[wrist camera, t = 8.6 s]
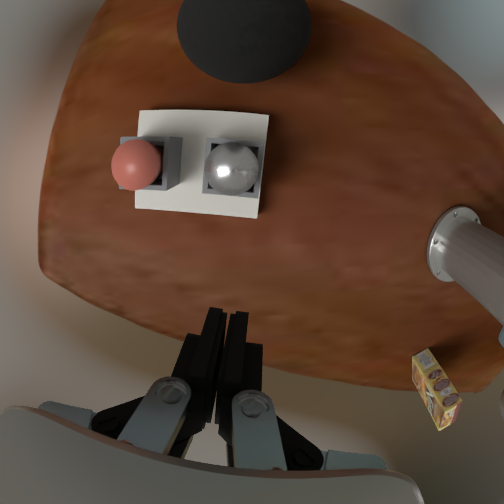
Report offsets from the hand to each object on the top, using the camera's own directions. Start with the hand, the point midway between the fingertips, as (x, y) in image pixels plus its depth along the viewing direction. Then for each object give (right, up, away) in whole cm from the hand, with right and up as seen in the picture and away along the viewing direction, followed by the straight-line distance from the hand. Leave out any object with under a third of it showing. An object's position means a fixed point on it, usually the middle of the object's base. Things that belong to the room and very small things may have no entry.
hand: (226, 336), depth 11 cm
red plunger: (-10, +14, +16) cm, 23 cm away
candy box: (+36, -19, +33) cm, 52 cm away
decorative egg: (0, +28, +14) cm, 31 cm away
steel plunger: (-1, +13, +17) cm, 22 cm away
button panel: (-5, +15, +19) cm, 25 cm away
